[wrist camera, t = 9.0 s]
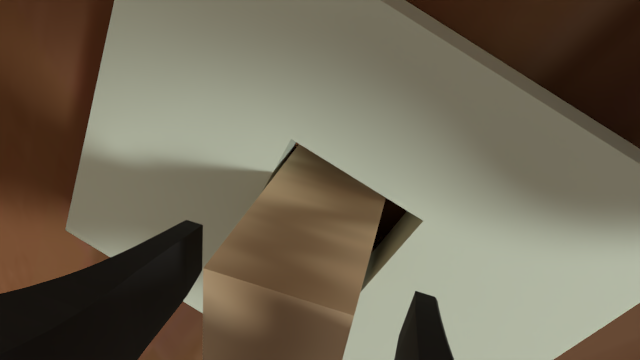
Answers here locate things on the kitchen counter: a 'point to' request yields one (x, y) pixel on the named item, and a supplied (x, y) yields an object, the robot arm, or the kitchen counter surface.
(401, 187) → the socket board
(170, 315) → the robot arm
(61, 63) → the kitchen counter surface
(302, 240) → the oak peg
